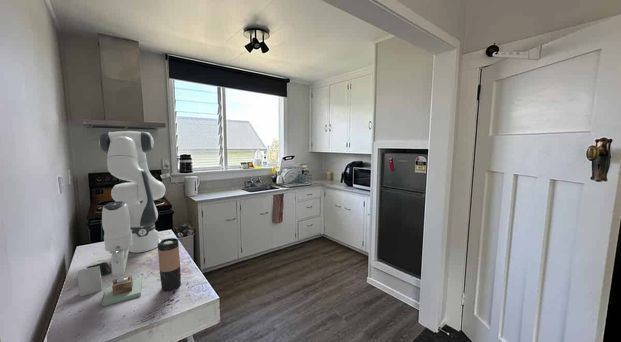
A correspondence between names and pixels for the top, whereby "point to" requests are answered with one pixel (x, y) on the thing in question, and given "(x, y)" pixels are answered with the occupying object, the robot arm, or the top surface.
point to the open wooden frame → (122, 286)
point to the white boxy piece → (89, 280)
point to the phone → (102, 268)
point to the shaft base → (112, 299)
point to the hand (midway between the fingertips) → (122, 275)
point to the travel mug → (169, 264)
